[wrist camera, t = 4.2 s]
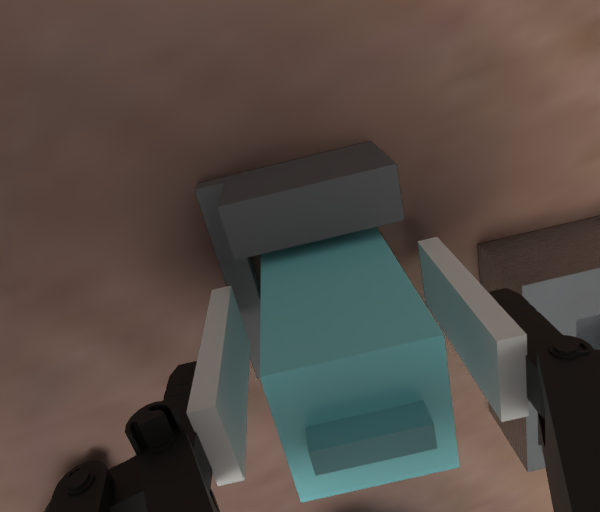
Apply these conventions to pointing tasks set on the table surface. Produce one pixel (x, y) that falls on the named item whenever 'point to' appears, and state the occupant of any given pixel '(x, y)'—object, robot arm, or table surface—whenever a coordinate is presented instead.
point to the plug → (352, 367)
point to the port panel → (547, 298)
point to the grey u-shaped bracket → (294, 213)
